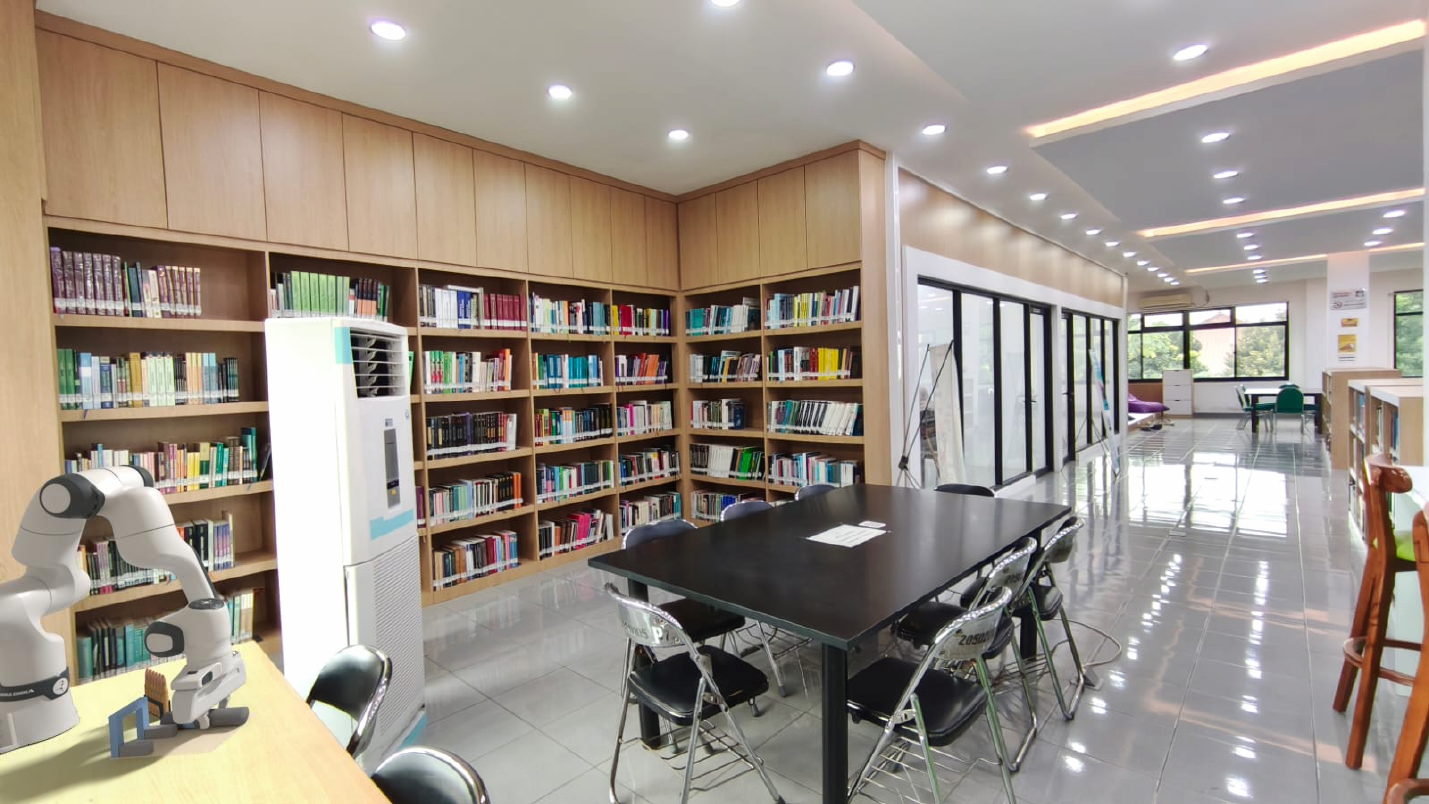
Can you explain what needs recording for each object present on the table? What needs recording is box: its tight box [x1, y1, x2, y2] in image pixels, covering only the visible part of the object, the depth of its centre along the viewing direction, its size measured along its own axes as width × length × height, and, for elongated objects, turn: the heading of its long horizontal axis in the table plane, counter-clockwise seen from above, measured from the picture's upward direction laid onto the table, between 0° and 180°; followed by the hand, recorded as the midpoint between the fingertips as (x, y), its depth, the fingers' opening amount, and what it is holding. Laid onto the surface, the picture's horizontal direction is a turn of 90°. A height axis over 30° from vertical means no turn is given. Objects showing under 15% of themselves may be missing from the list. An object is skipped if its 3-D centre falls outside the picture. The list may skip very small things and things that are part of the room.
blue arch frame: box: [107, 696, 150, 758], centre depth 146 cm, size 2×9×10 cm, turn 4°
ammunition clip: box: [143, 667, 172, 719], centre depth 161 cm, size 11×2×12 cm, turn 61°
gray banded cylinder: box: [159, 706, 250, 729], centre depth 154 cm, size 18×4×4 cm, turn 94°
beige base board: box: [108, 712, 259, 760], centre depth 150 cm, size 22×17×4 cm
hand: (214, 721), depth 154 cm, fingers closed on gray banded cylinder, 4 cm apart
